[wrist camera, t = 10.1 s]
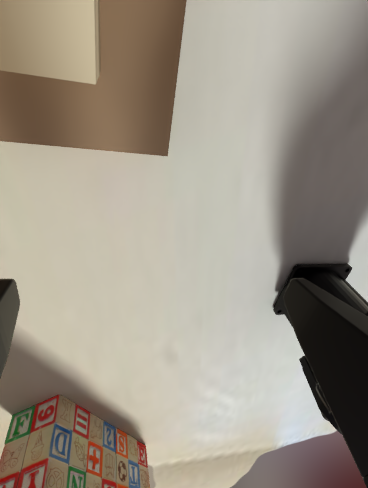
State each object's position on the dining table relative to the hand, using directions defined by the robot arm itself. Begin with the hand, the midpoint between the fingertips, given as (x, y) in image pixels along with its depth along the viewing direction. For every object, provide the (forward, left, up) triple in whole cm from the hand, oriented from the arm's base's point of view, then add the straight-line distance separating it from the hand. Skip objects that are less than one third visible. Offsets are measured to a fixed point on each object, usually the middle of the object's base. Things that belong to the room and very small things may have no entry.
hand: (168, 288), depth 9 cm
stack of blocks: (+4, +37, -11) cm, 39 cm away
